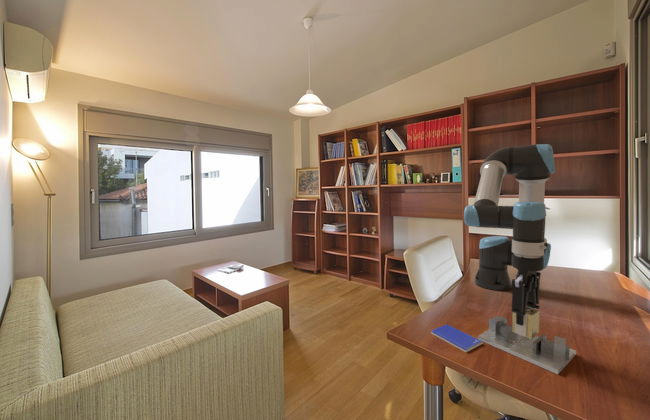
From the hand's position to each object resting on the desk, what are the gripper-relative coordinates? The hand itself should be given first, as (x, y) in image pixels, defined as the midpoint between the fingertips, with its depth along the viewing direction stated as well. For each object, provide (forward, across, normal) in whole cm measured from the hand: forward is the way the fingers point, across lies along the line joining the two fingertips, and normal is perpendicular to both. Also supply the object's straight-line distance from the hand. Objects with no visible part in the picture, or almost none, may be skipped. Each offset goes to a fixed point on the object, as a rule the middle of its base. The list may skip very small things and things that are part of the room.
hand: (524, 331), depth 82 cm
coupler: (0, 0, 0) cm, 0 cm away
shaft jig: (+5, 0, 0) cm, 5 cm away
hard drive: (+6, -12, +14) cm, 20 cm away
